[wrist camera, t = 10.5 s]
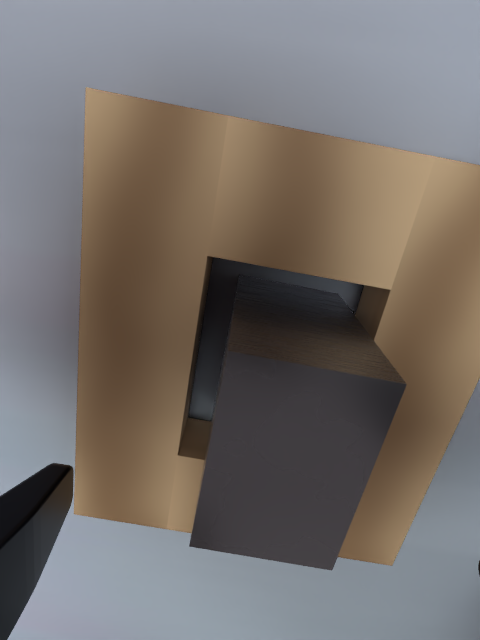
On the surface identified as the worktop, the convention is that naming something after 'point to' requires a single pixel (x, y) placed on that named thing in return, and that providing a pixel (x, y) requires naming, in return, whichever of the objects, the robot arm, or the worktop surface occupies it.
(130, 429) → the post socket
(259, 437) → the dark grey rectangular prism
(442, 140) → the worktop surface
